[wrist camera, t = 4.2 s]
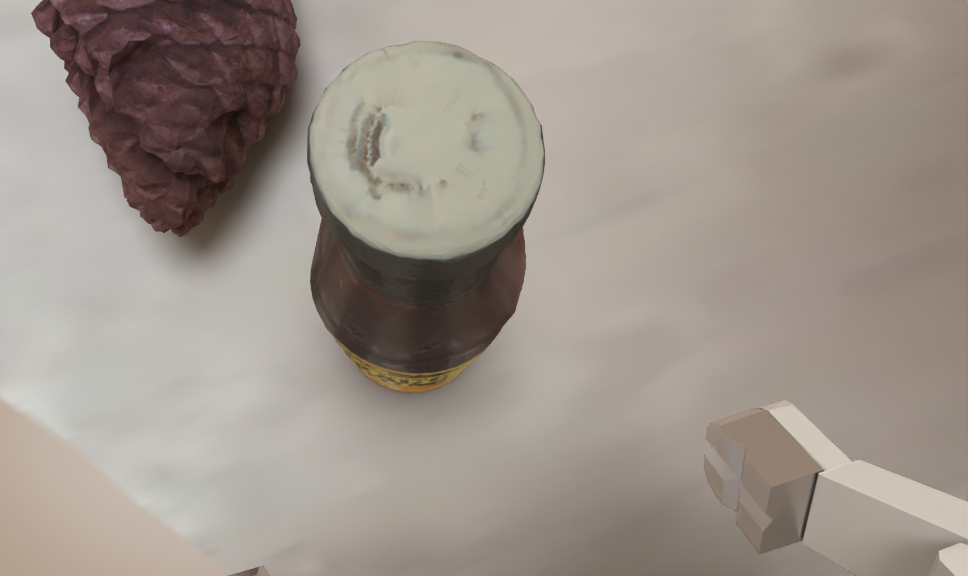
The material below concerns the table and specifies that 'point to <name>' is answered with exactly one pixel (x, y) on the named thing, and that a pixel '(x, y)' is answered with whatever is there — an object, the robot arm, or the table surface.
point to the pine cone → (174, 91)
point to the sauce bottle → (421, 209)
